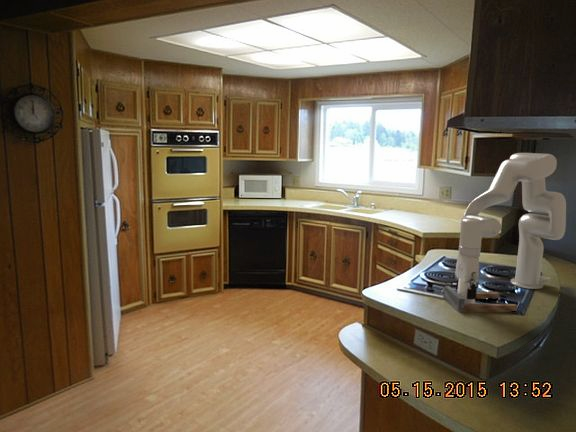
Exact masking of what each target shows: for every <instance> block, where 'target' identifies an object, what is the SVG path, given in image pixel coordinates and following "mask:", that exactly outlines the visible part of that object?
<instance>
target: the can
mask: <svg viewBox="0 0 576 432" xmlns="http://www.w3.org/2000/svg"><path fill="white" fill-rule="evenodd" d="M470 281H473V280H470ZM472 284H474V283H471V285H472ZM468 289H469V287H468V283H465V282H463V281H462V280H461V279H460V278H459V282H458V290H457V291H456V292H457V293H458V294H459V295H461V296H462V297H463V298H464V299H465V300H464V304H476V300H475V299H467V290H468Z"/></svg>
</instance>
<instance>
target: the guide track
mask: <svg viewBox="0 0 576 432" xmlns="http://www.w3.org/2000/svg"><path fill="white" fill-rule="evenodd" d="M457 292H458V291H457V290H456V289H453V288H452V287H451V286H449V285H444V287H443V295H442V296H443V297H442V298H443V299H444V300H445V301H446V302H447V303H448V304H449V306H452V308H453V309H454V310H455V311H456V312H460V313H461V312H462V313H464V312H465V313H466V312H467V313H474V312H475V313H511V312H510V311H517V310H518V305H517V304H516V303H475V304H464V300H465V299H464V298H463V297H462V296H461V295H459V294H458V293H457ZM500 295H501V293H499V292H498V291H497V292H496V291H495V292H493V291H490V292H487V291H486V292H485V291H484V292H483V291H482V292H481V291H480V292H479V291H476V299H486V298H499V299H500V298H501V296H500ZM517 312H518V311H517Z"/></svg>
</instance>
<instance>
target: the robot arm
mask: <svg viewBox="0 0 576 432" xmlns="http://www.w3.org/2000/svg"><path fill="white" fill-rule="evenodd" d="M557 161H558V160H557V158H556V157H555V156H554V155H553V154H551V153H536V152H534V153H533V152H516V153H513V154H512V155H510V157H509V159H505V160H504V161H502V162H501V163H500V165H499V167H498V170H496V173H495V176H494V177H493V180H492V182H491V183H490V186H489V187H488V189H487V190H486V191H485V192H483V193H481V194H480V195H478V196H477V197H476V198H474V199H473V200H472V201H471V202H470V203H469V204H468V206H467V207H466V209H465V211H464V212H463V215H462V218H461V221H460V230H459V231H460V232H459V233H460V234H459V241H458V242H459V243H458V244H459V245H458V253H457V258H456V265H455V273H454V274H455V280H456V281H455V282H456V285H455V291H458V282H459V278H460V279H461V280H462V281H463V282H465V283H468V287H469V289H468V290H467V299H476V292H478V291H477V290H478V288H479V285H480V279H479V274H480V273H479V272H480V258H479V257H481V249H482V239H483V238H494V237H496V236H498V235H499V234H500V232H501V229H502V225H501V224H502V223H501V222H500V221H499V220H498V219H497V218H494V217H489V216H485V215H480V213H481V212H482V211H484V210H485V209H487V208H489V207H492V206H495V205H500V204H503V203H506V202H508V201H509V200H511V198H512V196H513V194H514V191H515V190H516V187H517V185H518V183H519V182H521V187H522V188H521V195H522V196H521V198H522V199H521V200H522V203H521V204H522V207H523V210H525V211H526V212H530V213H525V214H522V216H521V217H520V218H519V220H518V235H519V237H518V240H519V241H518V250H517V259H516V268H515V277H513V278H511V279H510V283H511V284H512V285H514V286H515V287H518V288H521V289H522V288H523V289H528V290H539V289H543V288H544V282H547V283H549V282H552V279H551V277H548V276H547V277H546V276H543V275H541V273H542V265H543V256H544V249H545V247H544V243H543V241H542V239H545V240H546V239H547V240H553V241H559V240H561V239H563V238H564V235H565V234H566V233H565V232H566V227H567V226H566V225H567V201H566V197H565V196H564V194H563V193H561V192H558V191H549V190H547V189H546V178H547V177H549V176H551V175H552V174H553V173H554V172H555V171H556V169H557V163H558V162H557ZM470 280H473V281H470ZM471 283H474V284H472V285H471Z"/></svg>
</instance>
